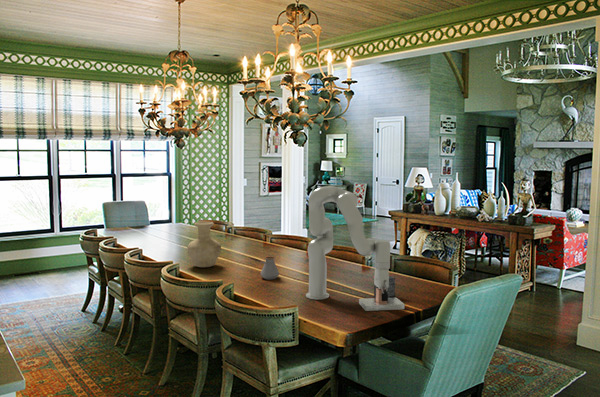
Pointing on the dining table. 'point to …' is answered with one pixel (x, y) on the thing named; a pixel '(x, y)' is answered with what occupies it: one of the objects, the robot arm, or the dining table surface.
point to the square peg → (379, 296)
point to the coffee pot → (268, 268)
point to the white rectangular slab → (372, 305)
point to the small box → (391, 288)
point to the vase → (204, 247)
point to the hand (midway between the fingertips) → (381, 298)
